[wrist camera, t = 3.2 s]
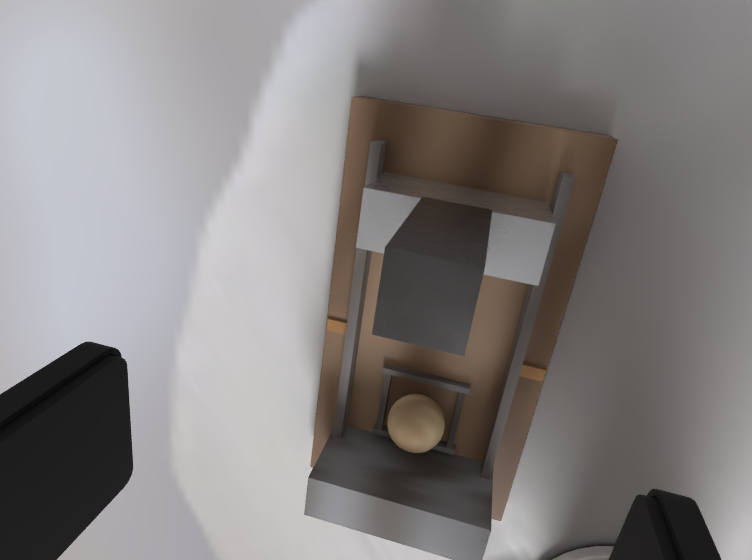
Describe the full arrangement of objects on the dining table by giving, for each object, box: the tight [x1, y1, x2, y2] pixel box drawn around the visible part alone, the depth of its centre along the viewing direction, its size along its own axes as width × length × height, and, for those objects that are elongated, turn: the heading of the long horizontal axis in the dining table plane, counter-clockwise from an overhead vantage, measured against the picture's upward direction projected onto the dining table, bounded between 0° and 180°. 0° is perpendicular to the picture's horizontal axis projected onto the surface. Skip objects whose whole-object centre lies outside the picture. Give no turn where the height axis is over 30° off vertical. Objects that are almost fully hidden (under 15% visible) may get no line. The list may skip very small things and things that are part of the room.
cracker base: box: [304, 96, 618, 560], centre depth 31 cm, size 14×26×8 cm, turn 172°
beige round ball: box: [387, 394, 445, 453], centre depth 33 cm, size 4×4×4 cm
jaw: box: [356, 172, 555, 356], centre depth 23 cm, size 9×3×13 cm, turn 82°
